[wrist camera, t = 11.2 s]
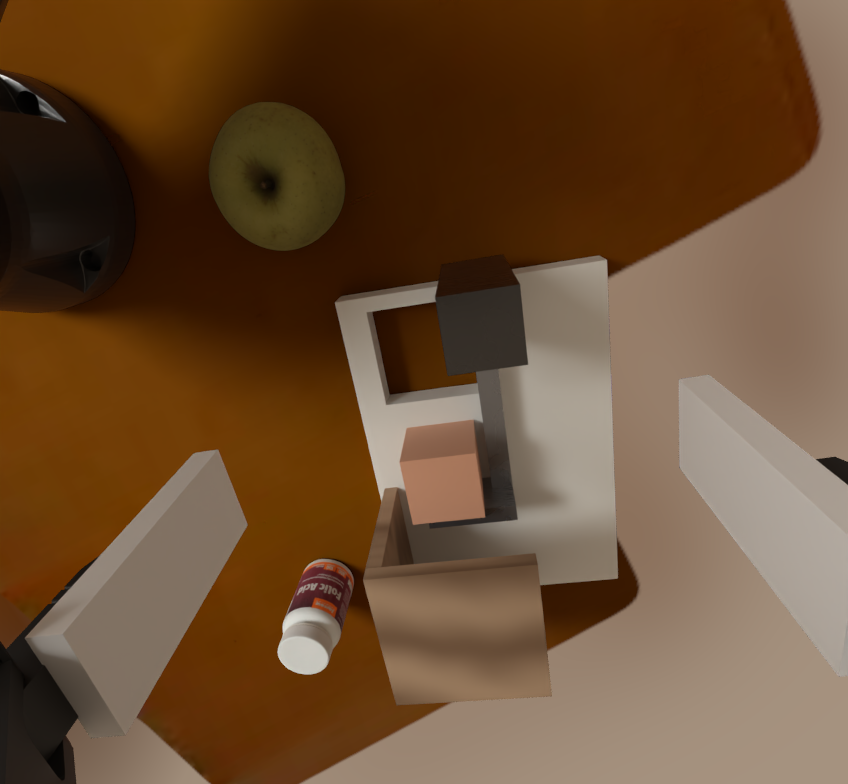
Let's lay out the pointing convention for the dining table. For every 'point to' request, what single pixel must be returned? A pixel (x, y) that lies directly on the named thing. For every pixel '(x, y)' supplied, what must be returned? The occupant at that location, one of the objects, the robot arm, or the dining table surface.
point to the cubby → (455, 620)
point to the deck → (514, 424)
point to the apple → (276, 176)
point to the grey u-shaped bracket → (484, 359)
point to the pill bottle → (316, 616)
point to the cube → (442, 472)
